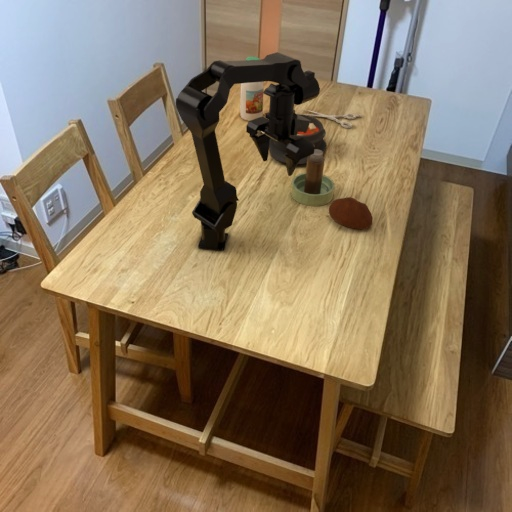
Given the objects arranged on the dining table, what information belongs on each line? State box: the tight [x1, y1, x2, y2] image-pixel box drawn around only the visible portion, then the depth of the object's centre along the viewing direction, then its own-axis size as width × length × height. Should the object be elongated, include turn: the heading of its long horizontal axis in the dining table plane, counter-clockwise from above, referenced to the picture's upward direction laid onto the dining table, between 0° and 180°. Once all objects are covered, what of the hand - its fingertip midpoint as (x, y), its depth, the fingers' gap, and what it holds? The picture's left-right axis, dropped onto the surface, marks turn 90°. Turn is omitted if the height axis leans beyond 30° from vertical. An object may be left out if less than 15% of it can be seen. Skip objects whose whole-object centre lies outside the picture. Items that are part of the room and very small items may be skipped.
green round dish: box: [290, 172, 335, 207], centre depth 145 cm, size 12×12×4 cm
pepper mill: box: [304, 149, 326, 194], centre depth 142 cm, size 5×5×13 cm
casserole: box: [269, 113, 327, 165], centre depth 163 cm, size 25×19×8 cm
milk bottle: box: [239, 56, 265, 122], centre depth 176 cm, size 8×8×20 cm
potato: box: [328, 196, 374, 230], centre depth 134 cm, size 8×12×8 cm, turn 74°
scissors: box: [305, 109, 362, 129], centre depth 183 cm, size 11×1×20 cm
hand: (277, 167), depth 134 cm, fingers open, 9 cm apart
